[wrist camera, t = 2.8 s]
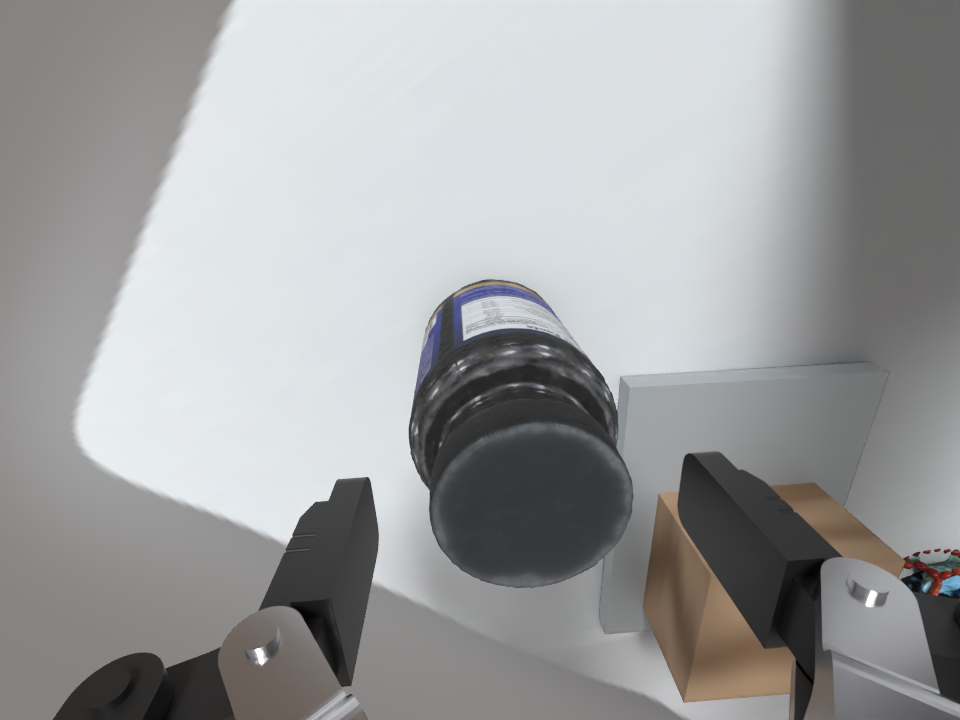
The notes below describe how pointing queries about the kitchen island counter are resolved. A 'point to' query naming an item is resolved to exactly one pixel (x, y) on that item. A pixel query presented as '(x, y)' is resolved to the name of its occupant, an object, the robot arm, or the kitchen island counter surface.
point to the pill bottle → (516, 440)
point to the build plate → (731, 447)
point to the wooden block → (712, 614)
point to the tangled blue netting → (935, 575)
